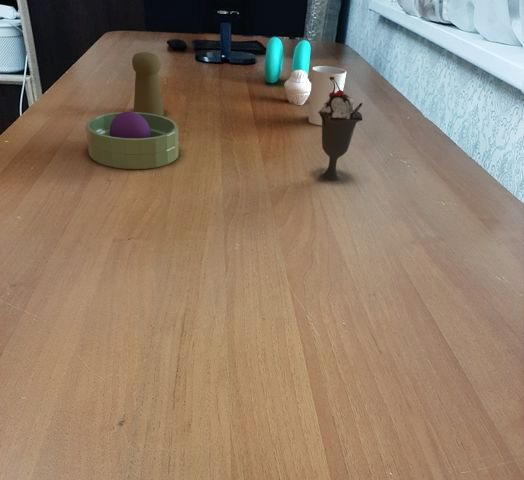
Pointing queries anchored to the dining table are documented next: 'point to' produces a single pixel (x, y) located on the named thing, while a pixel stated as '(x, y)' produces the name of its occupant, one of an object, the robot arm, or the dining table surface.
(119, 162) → the bowl
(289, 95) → the muffin
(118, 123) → the ball
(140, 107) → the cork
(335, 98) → the sundae
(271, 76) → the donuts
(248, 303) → the dining table surface
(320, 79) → the white paper cup
